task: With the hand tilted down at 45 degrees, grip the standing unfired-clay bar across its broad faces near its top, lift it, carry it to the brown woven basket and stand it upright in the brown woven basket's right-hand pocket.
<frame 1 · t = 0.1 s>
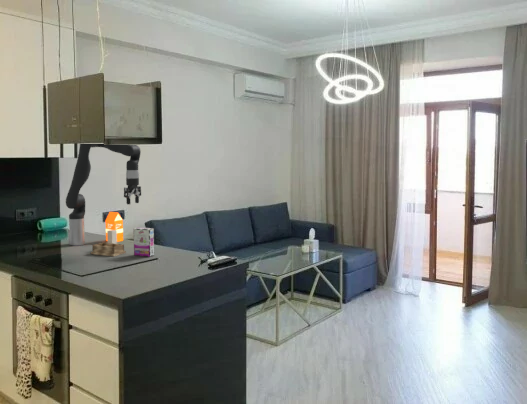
hand: (132, 203, 298), 29 cm above the countertop, tool pointing down, fingers open, 8 cm apart
brown woven basket: (108, 253, 291), on the countertop
candy bar box: (144, 255, 286), on the countertop
orange juice: (114, 241, 331), on the countertop
clay bar: (112, 249, 304), on the countertop
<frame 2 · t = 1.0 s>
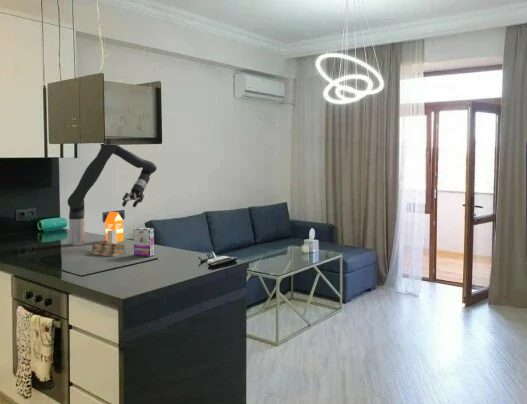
hand: (128, 206, 313), 26 cm above the countertop, tool tilted 45°, fingers open, 8 cm apart
nothing on the countertop moved.
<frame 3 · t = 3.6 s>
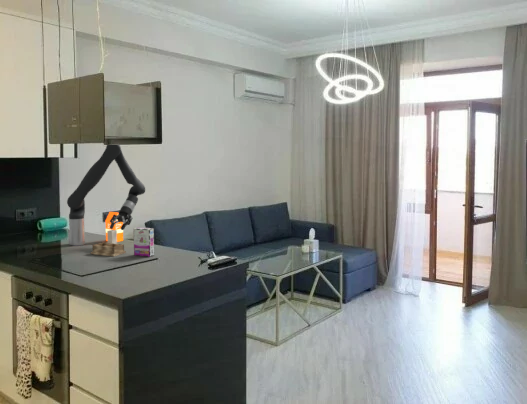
hand: (116, 228, 306), 12 cm above the countertop, tool tilted 45°, fingers open, 8 cm apart
nothing on the countertop moved.
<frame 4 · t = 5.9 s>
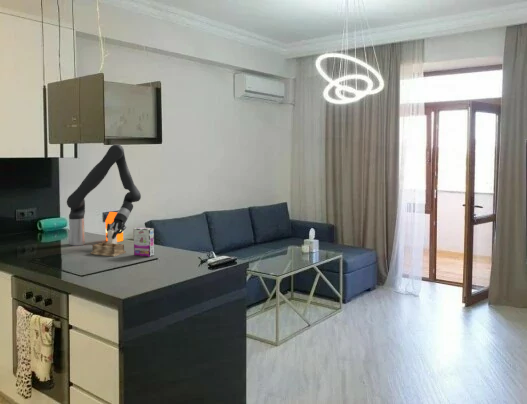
hand: (110, 237, 301), 8 cm above the countertop, tool tilted 45°, fingers closed on clay bar, 3 cm apart
clay bar: (112, 249, 304), on the countertop, touching gripper
everything else where it was.
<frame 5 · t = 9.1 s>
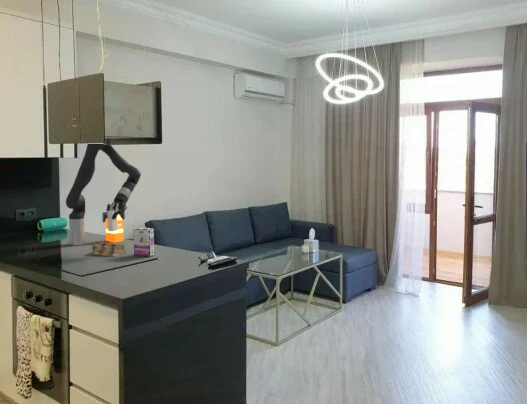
hand: (110, 218, 286), 22 cm above the countertop, tool tilted 45°, fingers closed on clay bar, 3 cm apart
clay bar: (112, 230, 289), point 14 cm above the countertop, touching gripper
everything else where it was.
when the fingers open (10 cm above the countertop, at t = 12.4 s): clay bar stays where it is, resting on brown woven basket.
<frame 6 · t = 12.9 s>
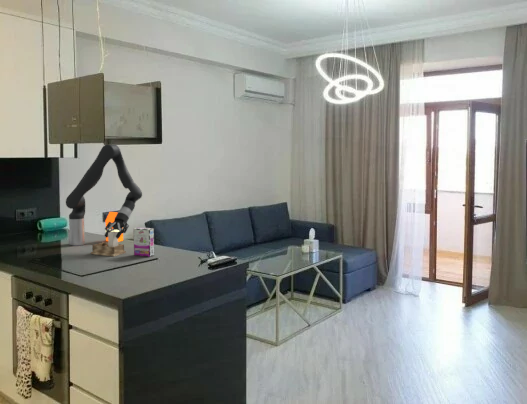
hand: (111, 237, 287), 10 cm above the countertop, tool tilted 45°, fingers open, 8 cm apart
clay bar: (113, 251, 290), point 1 cm above the countertop, touching brown woven basket
everything else where it was.
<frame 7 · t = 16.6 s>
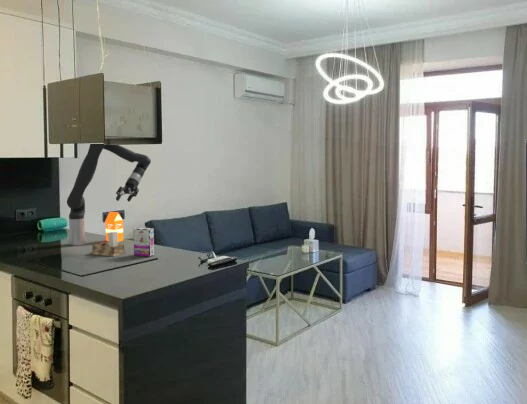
hand: (122, 200, 303), 31 cm above the countertop, tool tilted 45°, fingers open, 8 cm apart
nothing on the countertop moved.
at the end: clay bar 0.1 cm from the target spot on the brown woven basket, point 1.2 cm above the brown woven basket's base; clay bar tilted 0°; the gripper is holding nothing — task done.
